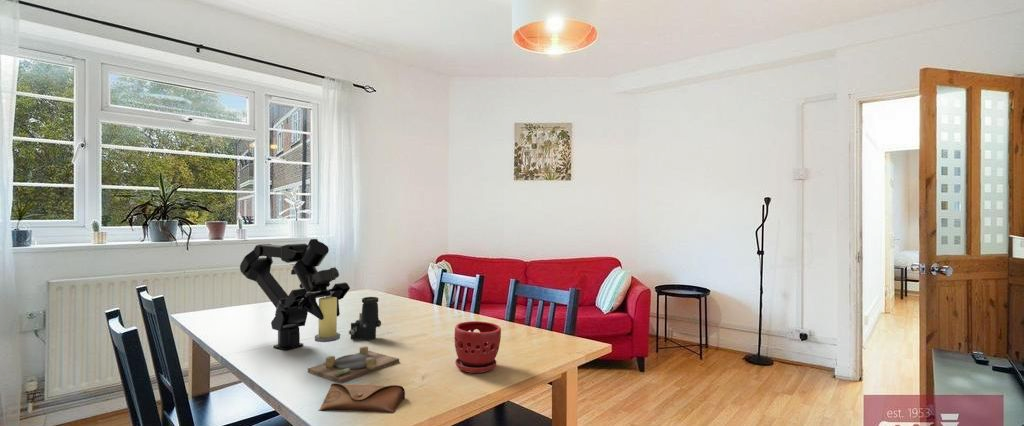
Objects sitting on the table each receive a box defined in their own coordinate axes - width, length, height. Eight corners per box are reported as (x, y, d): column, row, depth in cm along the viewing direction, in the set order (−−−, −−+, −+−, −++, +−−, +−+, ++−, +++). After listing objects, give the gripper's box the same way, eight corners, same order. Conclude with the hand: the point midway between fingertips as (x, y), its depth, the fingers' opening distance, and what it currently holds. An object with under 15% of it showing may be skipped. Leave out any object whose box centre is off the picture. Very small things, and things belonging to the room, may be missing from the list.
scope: (359, 295, 164) (386, 296, 163) (359, 334, 164) (385, 335, 163) (347, 299, 156) (375, 301, 155) (347, 340, 156) (375, 342, 155)
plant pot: (464, 379, 122) (464, 334, 122) (447, 364, 134) (448, 322, 134) (508, 371, 128) (508, 328, 128) (488, 358, 140) (489, 318, 140)
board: (307, 372, 126) (307, 359, 126) (367, 353, 143) (367, 342, 143) (341, 383, 118) (342, 370, 118) (400, 362, 135) (400, 350, 135)
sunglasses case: (314, 411, 102) (321, 379, 105) (325, 415, 108) (332, 385, 111) (396, 413, 101) (400, 381, 105) (402, 417, 107) (406, 386, 111)
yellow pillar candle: (309, 339, 136) (310, 298, 136) (330, 334, 142) (331, 295, 142) (324, 343, 133) (324, 301, 133) (345, 338, 138) (345, 298, 138)
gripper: (291, 262, 132) (313, 305, 126) (346, 257, 147) (369, 295, 141) (275, 286, 136) (296, 330, 130) (331, 279, 152) (352, 317, 146)
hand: (330, 317), depth 137 cm, fingers closed on yellow pillar candle, 5 cm apart
